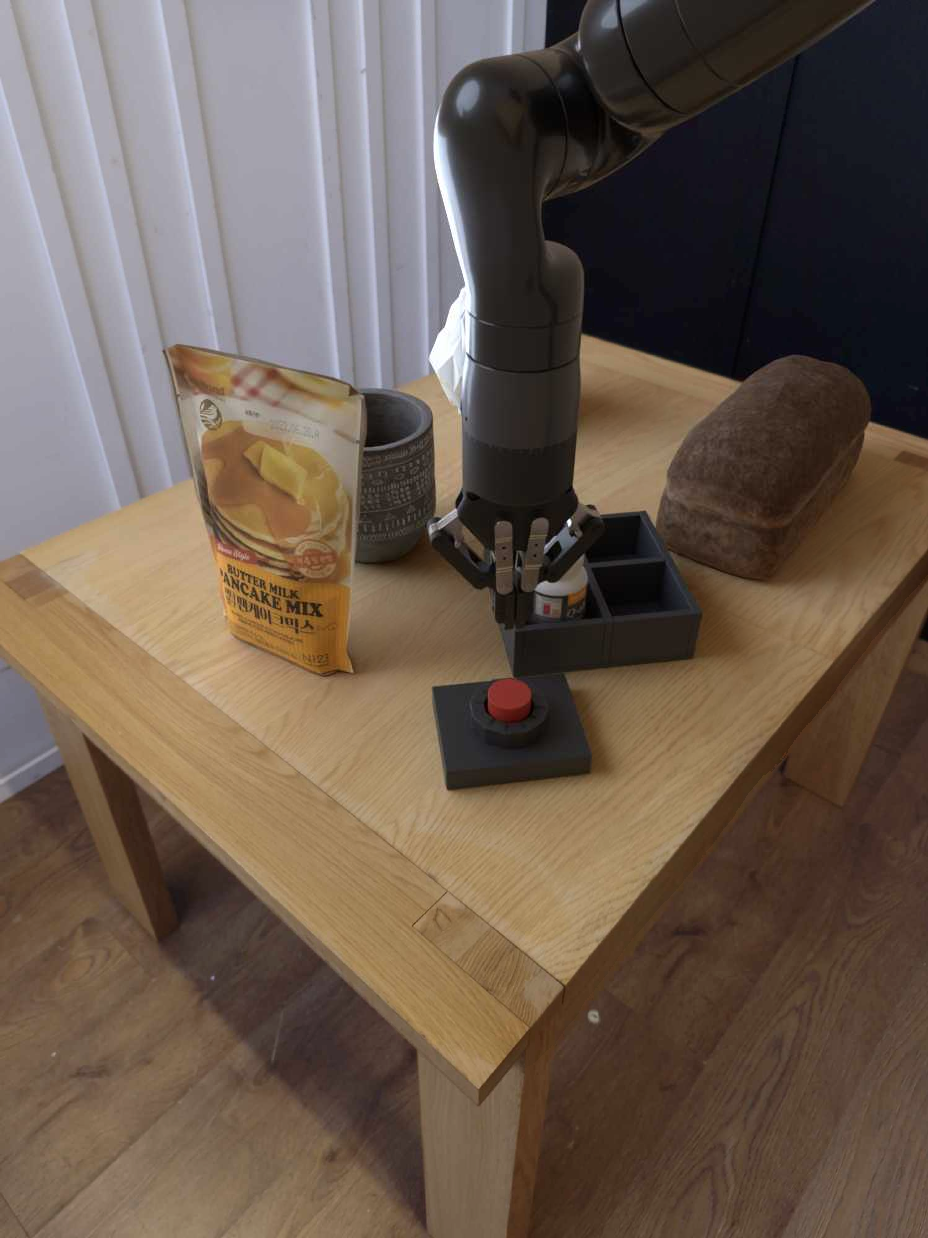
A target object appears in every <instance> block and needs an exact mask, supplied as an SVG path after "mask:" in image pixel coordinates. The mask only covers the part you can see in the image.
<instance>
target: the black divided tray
mask: <svg viewBox="0 0 928 1238" xmlns="http://www.w3.org/2000/svg"><path fill="white" fill-rule="evenodd" d="M600 516H601V518H602V521H603V524H604V526H605V531H604V533H603V534H602V535H601V536H600V537H599V538H598V539H597V541H596V542H595V543H594V544H593V545H592V546H591V547H590V548H589V549H588V550H587V551H586V552H585V553H584V563H583V567H584V568H585V570H586V572H587V576H588V584H587V593H586V602H585V613H584V620H574V621H564V622H554V623H544V624H533V625H525V628H519V629H515V627H514V628H513V629H509V630H504V628H503V625H502V624H498V627H499V630H500V634H501V638H502V642H503V645H504V649H505V652H506V656H507V660H508V663H509V666H510V670H511V674H512V678H520V677H530V676H539V675H549V674H558V673H567V672H576V671H587V670H595V669H604V668H615V667H625V666H636V665H643V664H644V665H645V664H653V663H660V662H661V663H663V662H672V661H673V662H674V661H681V660H683V661H684V660H691V659H694V656H695V652H696V651H695V650H696V646H697V641H698V637H699V632H700V627H701V622H702V618H703V611H702V609H701V608H700V606H699V604H698V602H697V600H696V599H695V596H694V595H693V593H692V592H691V590H690V587H689V586H688V584H687V582H686V581H685V579H684V577H683V575H682V574H681V572H680V570H679V568H678V566H677V565H676V563H675V560H674V559H673V557H672V555H671V553H670V552H669V549H668V548H666V546H665V545H664V543H663V541H662V539H661V537H660V536H659V534H658V532H657V530H656V528H655V526H656V525H655V524H654V522H652V521H653V520H652V519H651V517H650V516H649V514H648V512H647V510H639V511H638V510H637V511H626V512H615V513H602V514H600ZM565 526H566V524H565V525H564V526H563V527H562V528H561V529H560V530H559V532H558V533H557V534H556V535H555V536H557V535H558V534H559V533H560V532H561V531H562V530H563V529H564V527H565ZM516 554H517V551H516V552H513V569H512V574H513V575H515V572H516V569H515V563H516ZM483 562H487V563H491V556H490V550H488V549H486V548H485V547H484V546H483ZM488 590H489V593H490V597H491V598H492V589H491V588H488Z"/></svg>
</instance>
